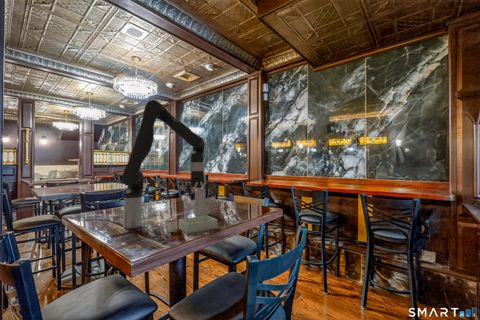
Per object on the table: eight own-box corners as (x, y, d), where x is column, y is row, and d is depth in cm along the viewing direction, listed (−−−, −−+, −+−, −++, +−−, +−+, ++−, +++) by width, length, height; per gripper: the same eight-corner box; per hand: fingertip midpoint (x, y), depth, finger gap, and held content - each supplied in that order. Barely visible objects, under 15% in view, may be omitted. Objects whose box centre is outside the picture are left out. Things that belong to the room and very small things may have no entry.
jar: (168, 233, 115) (168, 220, 115) (165, 231, 119) (165, 218, 119) (177, 231, 118) (178, 219, 118) (174, 229, 122) (174, 217, 122)
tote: (187, 234, 113) (187, 224, 113) (178, 228, 124) (178, 219, 124) (217, 228, 124) (217, 219, 124) (207, 223, 134) (207, 215, 134)
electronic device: (203, 217, 150) (203, 174, 151) (193, 216, 151) (193, 173, 152) (209, 213, 162) (209, 173, 163) (200, 213, 164) (200, 173, 164)
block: (195, 202, 121) (194, 191, 121) (190, 201, 126) (190, 190, 126) (204, 201, 125) (204, 190, 125) (200, 199, 129) (200, 189, 130)
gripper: (205, 169, 133) (205, 197, 132) (182, 170, 124) (183, 200, 124) (211, 170, 127) (211, 198, 126) (188, 170, 118) (188, 201, 118)
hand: (197, 199), depth 125 cm, fingers closed on block, 6 cm apart
